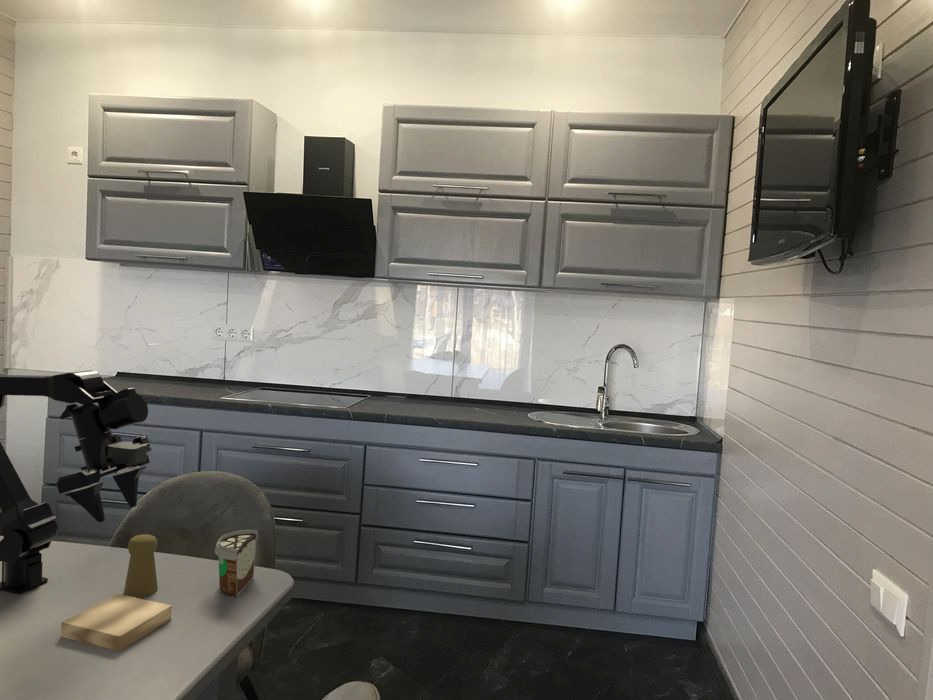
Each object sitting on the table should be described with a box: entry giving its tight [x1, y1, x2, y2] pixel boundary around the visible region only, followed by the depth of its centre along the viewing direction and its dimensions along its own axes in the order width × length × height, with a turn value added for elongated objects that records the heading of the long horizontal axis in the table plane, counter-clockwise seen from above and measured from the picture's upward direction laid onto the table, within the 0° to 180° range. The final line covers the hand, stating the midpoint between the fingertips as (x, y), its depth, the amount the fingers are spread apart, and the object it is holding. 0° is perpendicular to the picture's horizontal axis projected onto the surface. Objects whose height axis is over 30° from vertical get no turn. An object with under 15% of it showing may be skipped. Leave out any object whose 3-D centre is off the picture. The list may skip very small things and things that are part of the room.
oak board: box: [60, 593, 173, 652], centre depth 114 cm, size 12×12×2 cm
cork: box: [123, 533, 159, 599], centre depth 128 cm, size 6×6×11 cm
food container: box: [214, 529, 259, 598], centre depth 133 cm, size 12×6×10 cm, turn 178°
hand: (118, 514), depth 124 cm, fingers open, 9 cm apart
